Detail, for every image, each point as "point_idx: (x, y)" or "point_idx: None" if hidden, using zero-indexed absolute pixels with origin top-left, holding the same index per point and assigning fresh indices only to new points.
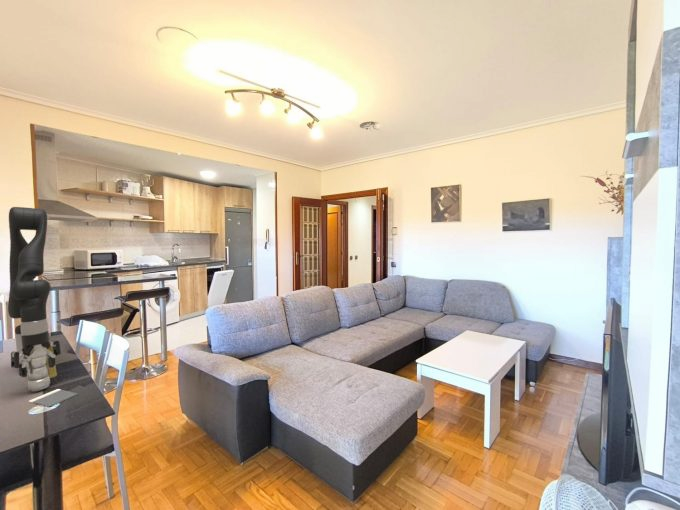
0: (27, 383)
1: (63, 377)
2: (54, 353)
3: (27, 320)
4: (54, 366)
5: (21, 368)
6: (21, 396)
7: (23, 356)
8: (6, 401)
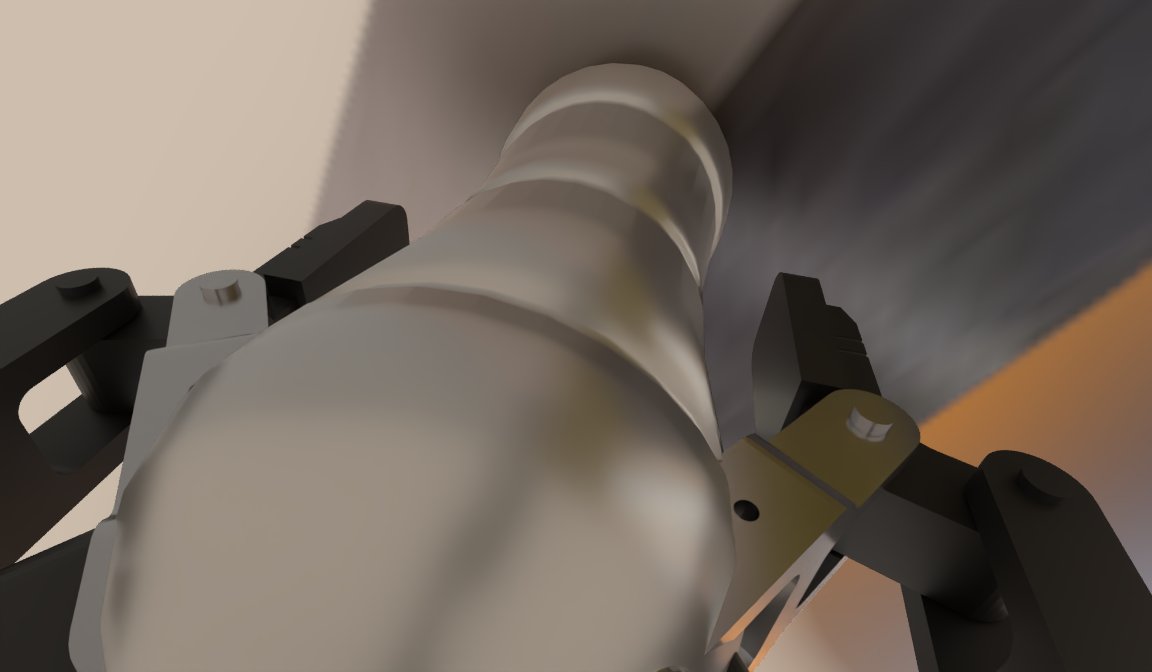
0: (505, 143)
1: (1006, 106)
2: (893, 561)
3: None
4: None
5: None
6: (468, 127)
7: (143, 422)
8: (356, 85)
